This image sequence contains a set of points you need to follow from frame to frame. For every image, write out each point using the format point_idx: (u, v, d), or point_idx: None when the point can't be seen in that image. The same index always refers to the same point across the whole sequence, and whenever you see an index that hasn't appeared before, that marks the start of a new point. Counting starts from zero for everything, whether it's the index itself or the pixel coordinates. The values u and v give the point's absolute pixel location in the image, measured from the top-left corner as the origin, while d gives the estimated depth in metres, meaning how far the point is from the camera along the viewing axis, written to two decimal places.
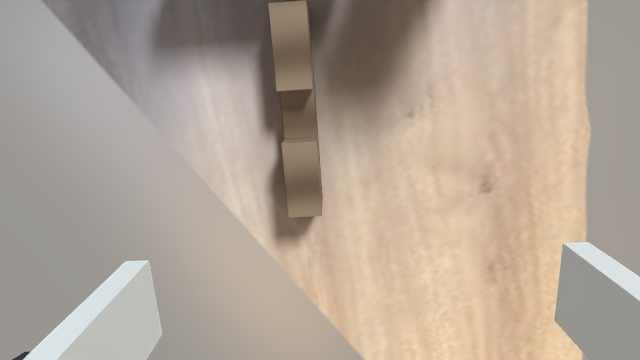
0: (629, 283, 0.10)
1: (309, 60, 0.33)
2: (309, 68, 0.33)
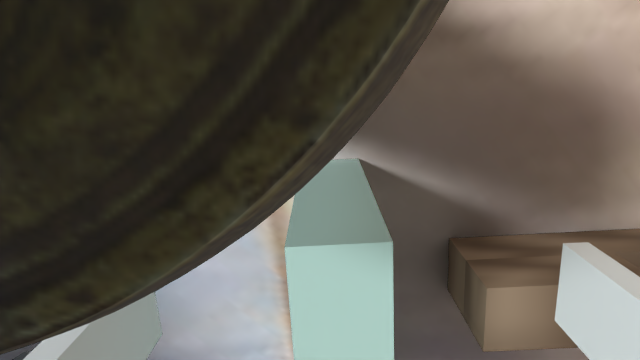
0: (629, 283, 0.10)
1: None
2: None
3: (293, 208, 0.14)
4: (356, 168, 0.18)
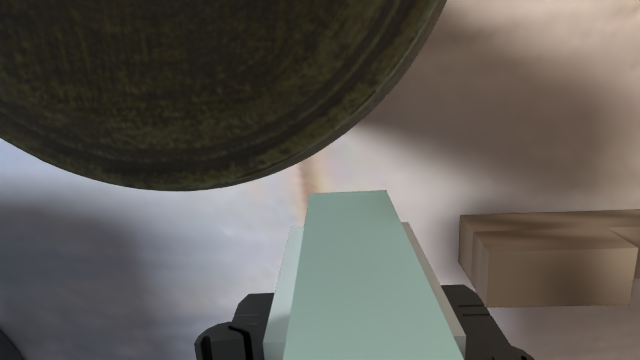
0: None
1: (588, 251, 0.19)
2: (601, 251, 0.19)
3: (294, 296, 0.08)
4: (386, 208, 0.13)
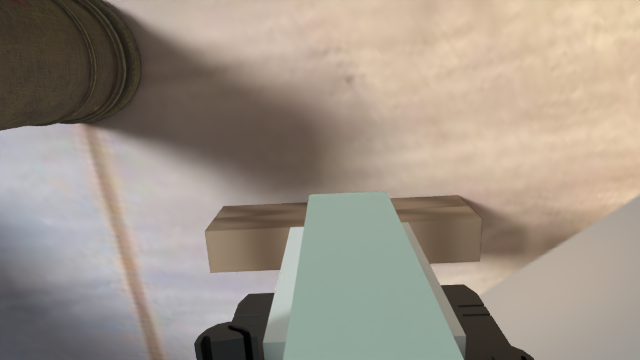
0: None
1: (273, 229, 0.27)
2: (283, 229, 0.27)
3: (294, 299, 0.08)
4: (386, 209, 0.13)
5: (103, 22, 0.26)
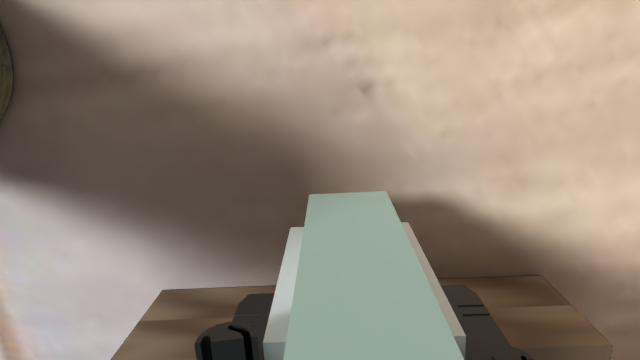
0: None
1: None
2: None
3: (294, 298, 0.08)
4: (386, 209, 0.13)
5: None
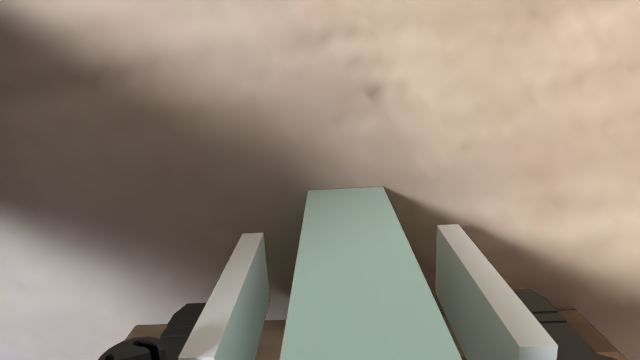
0: (468, 255, 0.12)
1: None
2: None
3: (293, 286, 0.09)
4: (382, 204, 0.13)
5: None
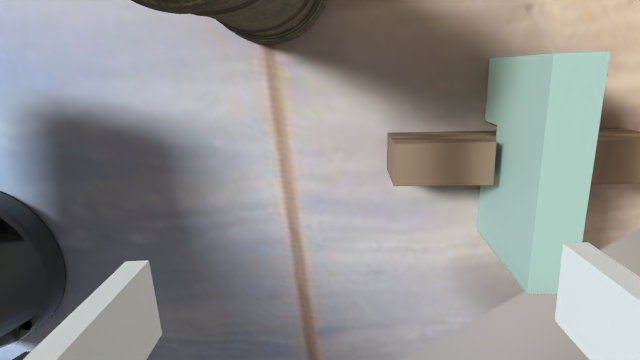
0: (629, 283, 0.10)
1: (462, 144, 0.28)
2: (471, 144, 0.28)
3: (529, 55, 0.24)
4: None
5: None
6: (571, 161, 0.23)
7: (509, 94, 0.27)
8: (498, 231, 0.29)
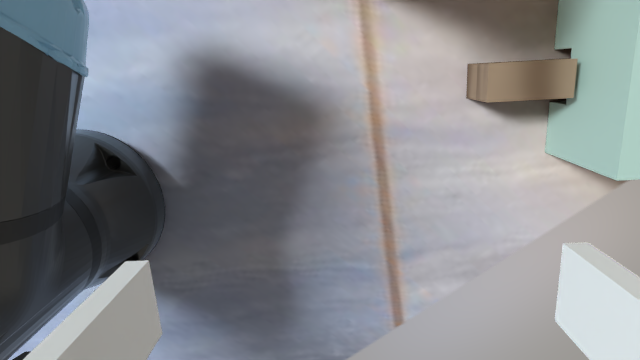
0: (629, 283, 0.10)
1: (548, 61, 0.32)
2: (556, 61, 0.32)
3: None
4: None
5: None
6: None
7: (588, 15, 0.31)
8: (576, 141, 0.34)
